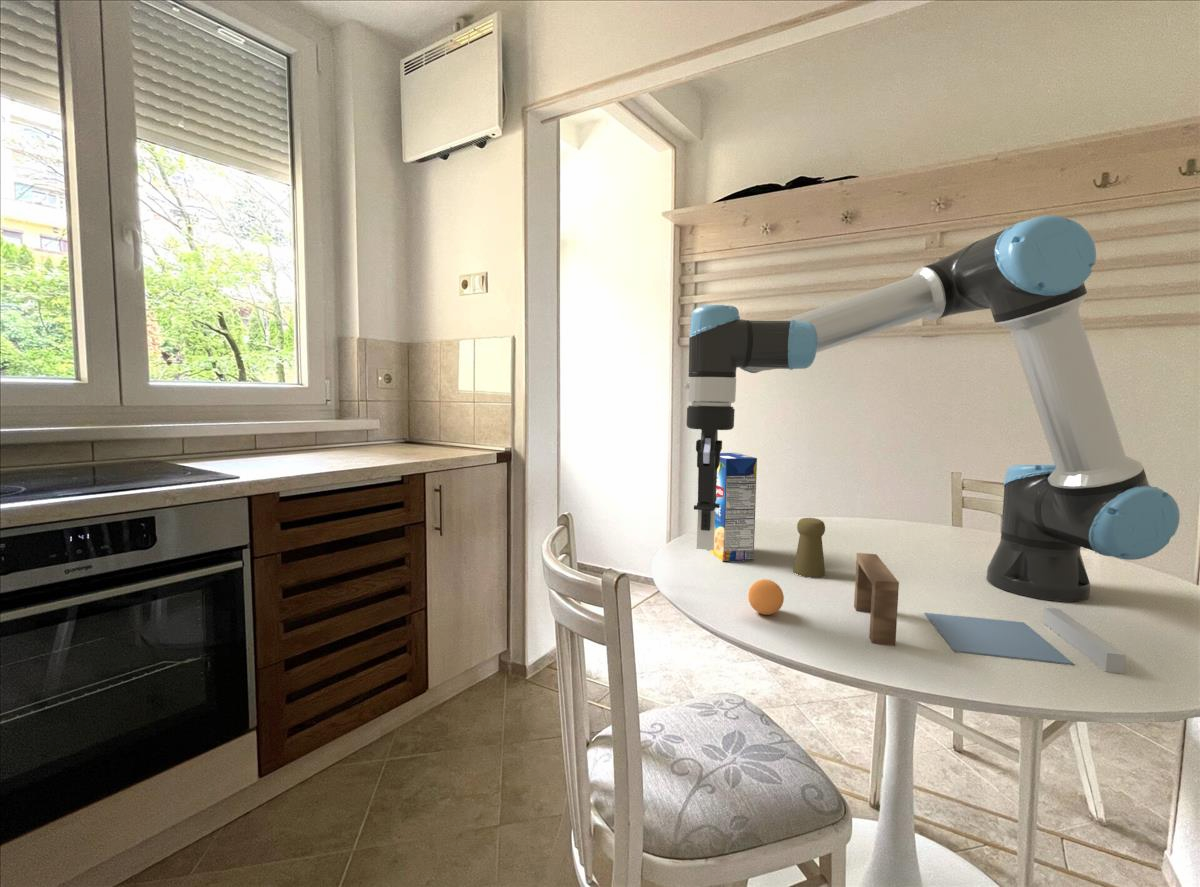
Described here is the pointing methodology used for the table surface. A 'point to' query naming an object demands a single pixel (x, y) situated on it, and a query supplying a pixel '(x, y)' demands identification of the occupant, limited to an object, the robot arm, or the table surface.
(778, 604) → the ball
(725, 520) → the beverage box
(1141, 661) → the table surface
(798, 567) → the cork
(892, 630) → the bridge
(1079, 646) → the wall
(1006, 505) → the robot arm
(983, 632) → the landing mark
